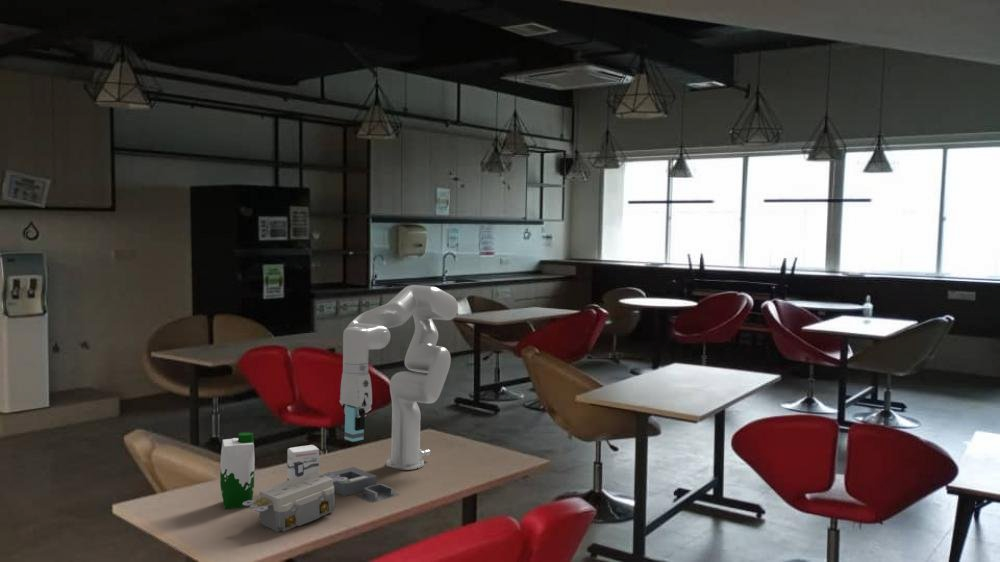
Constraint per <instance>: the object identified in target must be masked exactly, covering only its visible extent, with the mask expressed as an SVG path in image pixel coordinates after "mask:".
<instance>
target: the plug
mask: <svg viewBox="0 0 1000 562" xmlns="http://www.w3.org/2000/svg"><path fill="white" fill-rule="evenodd" d="M361 410H362V409H360V411H361ZM344 415H345V416H344V440H346V441H350V442H353V443H354V442H358V441H362V440H363V441H364V435H365V431H364V430H365V429H363V430H359V431H356V430H355V418H356V417H357V415H356V407H353V406H346V409H345V414H344Z"/></svg>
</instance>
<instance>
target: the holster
mask: <svg viewBox="0 0 1000 562" xmlns="http://www.w3.org/2000/svg"><path fill="white" fill-rule="evenodd" d="M356 496H357V497H359V498H361V499H364V500H365V501H368V502H370V503H376V502H377V503H378V502H380V501H384V500H387V499H390V498H394V497H397V496H401V495H400V494H399V493H397V492H394V488H393V487H391V486H389V485H386V484H383V483H377V484H376V485H372V486H368V487H365V488H363V491H362V493H361V494H356Z"/></svg>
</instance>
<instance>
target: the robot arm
mask: <svg viewBox="0 0 1000 562" xmlns="http://www.w3.org/2000/svg"><path fill="white" fill-rule="evenodd" d="M458 312H459V304H458V301H457V300H456V298H455V297H454V296H453V295H451V294H450V293H448V292H446V291H444V290H443V289H440V288H439V287H436V286H432V285H431V286H430V285H416V284H412V285H411V284H410V285H407V286H405V287H404V288H403V289H402V290H400V291H399V292H398V293H397V294H396V295H395V296H394V297H393V298H391V299H390V300H389V301H388V302H387V303H385V304H383V305H379V306H376V307H374V308H372V309H369V310H366V311H364V312H363V313H359V315H357V317H355V318H354V319H353V320H352V321H350V323H349V324H348V325H347V327H346V328H345V329H344V330H343V335H342V336H343V337H342V338H343V339H342V340H343V342H342V347H343V348H342V351H343V352H342V373H341V381H340V395H339V403H340V405H341V406H342V409H343V413H344V415H345V409H346V406H353V407H356V415H357V417H356V418H355V430H356V431H359V430H363V429H364V430H365V427H366V417H367V414H369V412H370V411H371V410H372V405H373V388H372V379H371V375H370V373H369V354H370V353H369V350H381V349H384V348H386V346H388V344H390V341H391V331H390V330H389V329H392V328H395V327H396V328H397V327H400V326H403V325H404V324H405V323H407V322H408V320H409V319H411V317H413V322H414V332H413V334H412V338H411V341H410V343H409V346H408V348H407V351H406V354H405V356H404V366H405V367H406V368H407V370H409V371H399V372H396V373H395V374H393V375H392V376H391V379H390V381H389V392H390V398H391V409H392V410H391V413H392V414H391V447H390V448H391V449H390V450H391V452H390V454H391V455H390V458H389V459H387V460H386V467H388V468H389V467H390V468H393V469H396V470H399V471H410V470H411V471H412V470H417V468H418V469H420V468H422V467H423V466H424V465H425V461H424V459H423V457H426V456H431V450H430V449H424V450H423V449H421V419H422V418H421V417H422V416H421V410H420V407H419V405H418V403H421V404H433V403H436V402H437V401H438V399H439V398H440V396H441V393H442V391H443V388H444V385H445V383H446V382H445V381H446V380H447V376H448V373H449V370H450V367H451V364H452V363H451V362H452V361H451V359H452V357H451V353H450V351H449V350H448V349H447V348H446V347H444V346H441V345H437V342H438V340H439V332H438V329H437V327H436V324H435V322H434V321H433V320H439V321H440V320H441V321H451V320H453V319H454V318H456V316H457V315H458ZM411 371H412V372H411ZM360 409H362V410H361V411H360Z"/></svg>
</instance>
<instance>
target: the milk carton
mask: <svg viewBox="0 0 1000 562" xmlns="http://www.w3.org/2000/svg"><path fill="white" fill-rule="evenodd" d="M237 435H238V436H237V437H233V438H226V439H222V443H221V450H220V467H219V468H220V472H219V473H220V481H219V483H220V491H221V496H222V501H223V505H224V510H231V509H238V508H239V509H240V508H248V507H249V508H250V506H244V505H242V503H243V502H245V501H248V500H253V498H254V489H255V444H254V443H255V441H254V433H253V432H251V431H243V432H239V433H238V434H237Z"/></svg>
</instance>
